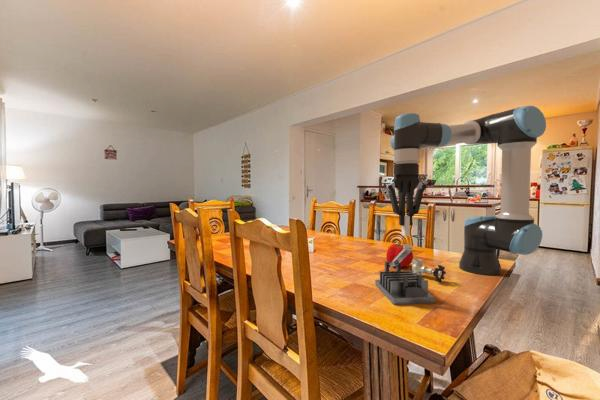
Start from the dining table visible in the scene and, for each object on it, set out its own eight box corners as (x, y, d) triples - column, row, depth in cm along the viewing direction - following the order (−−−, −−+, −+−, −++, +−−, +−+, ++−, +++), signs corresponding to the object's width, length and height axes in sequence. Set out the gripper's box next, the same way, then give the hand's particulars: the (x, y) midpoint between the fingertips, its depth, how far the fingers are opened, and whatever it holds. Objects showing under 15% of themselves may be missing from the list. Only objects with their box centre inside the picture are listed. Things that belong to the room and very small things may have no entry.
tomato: (381, 263, 131) (381, 241, 130) (403, 262, 133) (403, 240, 133) (394, 271, 119) (394, 247, 119) (418, 269, 121) (418, 246, 121)
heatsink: (374, 284, 103) (374, 261, 103) (408, 283, 104) (409, 260, 104) (393, 304, 86) (393, 277, 85) (434, 303, 86) (435, 276, 86)
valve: (407, 275, 113) (435, 284, 103) (407, 259, 113) (436, 266, 103) (417, 273, 117) (445, 281, 107) (417, 257, 116) (446, 264, 106)
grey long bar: (388, 267, 103) (387, 261, 104) (396, 267, 103) (394, 261, 104) (404, 250, 89) (403, 244, 90) (413, 250, 89) (411, 244, 90)
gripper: (420, 164, 95) (419, 233, 96) (382, 164, 94) (381, 234, 95) (432, 162, 87) (430, 237, 88) (391, 162, 86) (390, 238, 87)
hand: (405, 235), depth 92 cm, fingers closed
